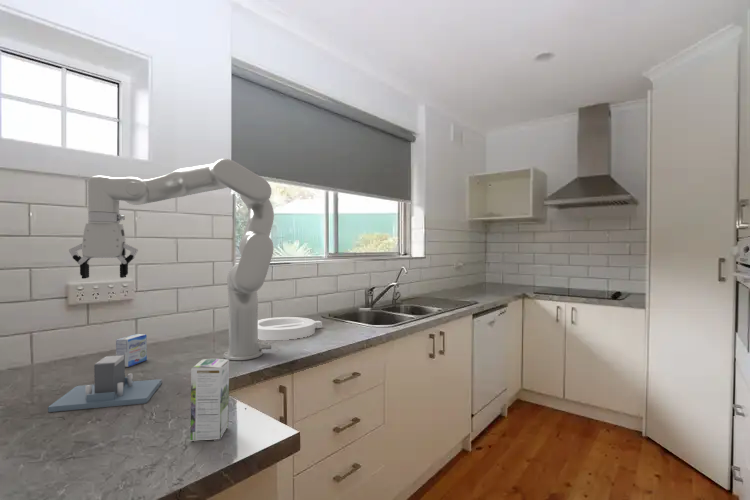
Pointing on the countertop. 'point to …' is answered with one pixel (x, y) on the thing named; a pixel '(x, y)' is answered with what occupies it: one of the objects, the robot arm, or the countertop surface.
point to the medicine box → (132, 349)
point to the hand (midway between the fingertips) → (104, 277)
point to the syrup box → (209, 399)
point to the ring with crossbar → (286, 328)
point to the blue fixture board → (107, 395)
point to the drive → (109, 373)
